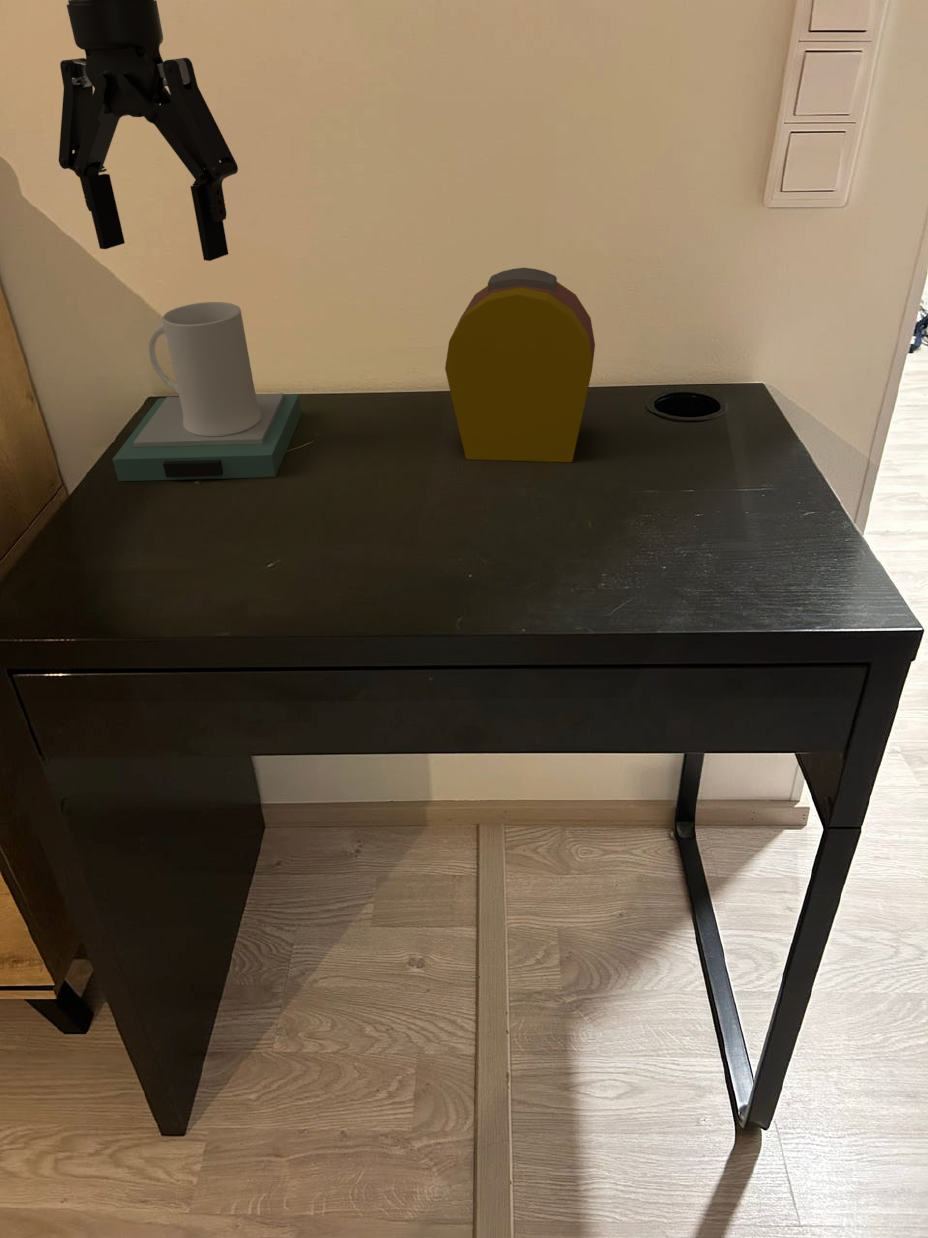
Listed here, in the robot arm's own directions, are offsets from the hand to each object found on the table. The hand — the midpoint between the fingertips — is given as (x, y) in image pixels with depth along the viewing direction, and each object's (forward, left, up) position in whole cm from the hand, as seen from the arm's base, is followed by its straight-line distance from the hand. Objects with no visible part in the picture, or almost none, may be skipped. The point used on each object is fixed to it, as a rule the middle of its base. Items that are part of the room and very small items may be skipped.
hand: (163, 251), depth 94 cm
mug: (-1, +2, -19) cm, 19 cm away
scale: (-1, +2, -22) cm, 22 cm away
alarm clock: (+31, +16, -22) cm, 42 cm away
